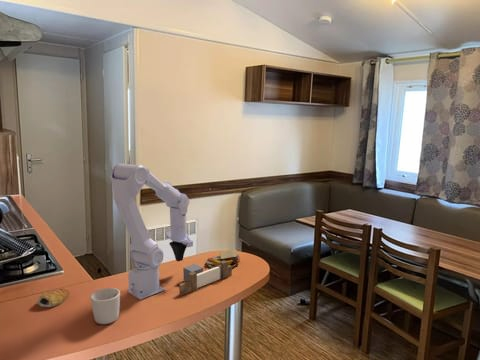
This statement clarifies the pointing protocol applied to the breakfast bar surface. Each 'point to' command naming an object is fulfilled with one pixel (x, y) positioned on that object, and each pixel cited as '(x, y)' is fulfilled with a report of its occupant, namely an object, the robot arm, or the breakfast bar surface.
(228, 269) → the stepped wooden block
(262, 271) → the breakfast bar surface
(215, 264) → the toy sandwich meal
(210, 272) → the door
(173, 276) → the breakfast bar surface
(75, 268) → the breakfast bar surface
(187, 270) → the grey cube
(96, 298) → the cup
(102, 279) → the breakfast bar surface
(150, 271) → the robot arm
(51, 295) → the pastry
